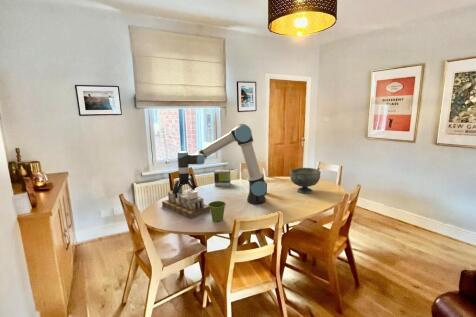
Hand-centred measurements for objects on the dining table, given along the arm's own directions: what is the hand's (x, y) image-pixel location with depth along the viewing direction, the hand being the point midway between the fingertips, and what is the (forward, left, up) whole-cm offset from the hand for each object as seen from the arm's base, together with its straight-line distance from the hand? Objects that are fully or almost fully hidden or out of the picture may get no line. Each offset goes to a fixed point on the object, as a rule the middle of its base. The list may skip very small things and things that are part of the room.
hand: (185, 199), depth 188 cm
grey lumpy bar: (0, 0, -3) cm, 3 cm away
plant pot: (-33, -2, -7) cm, 34 cm away
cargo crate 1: (+9, 0, +4) cm, 10 cm away
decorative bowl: (-49, -96, -7) cm, 108 cm away
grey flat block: (0, 0, -7) cm, 7 cm away
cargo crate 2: (-10, 0, +4) cm, 10 cm away
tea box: (+24, -63, -8) cm, 68 cm away
